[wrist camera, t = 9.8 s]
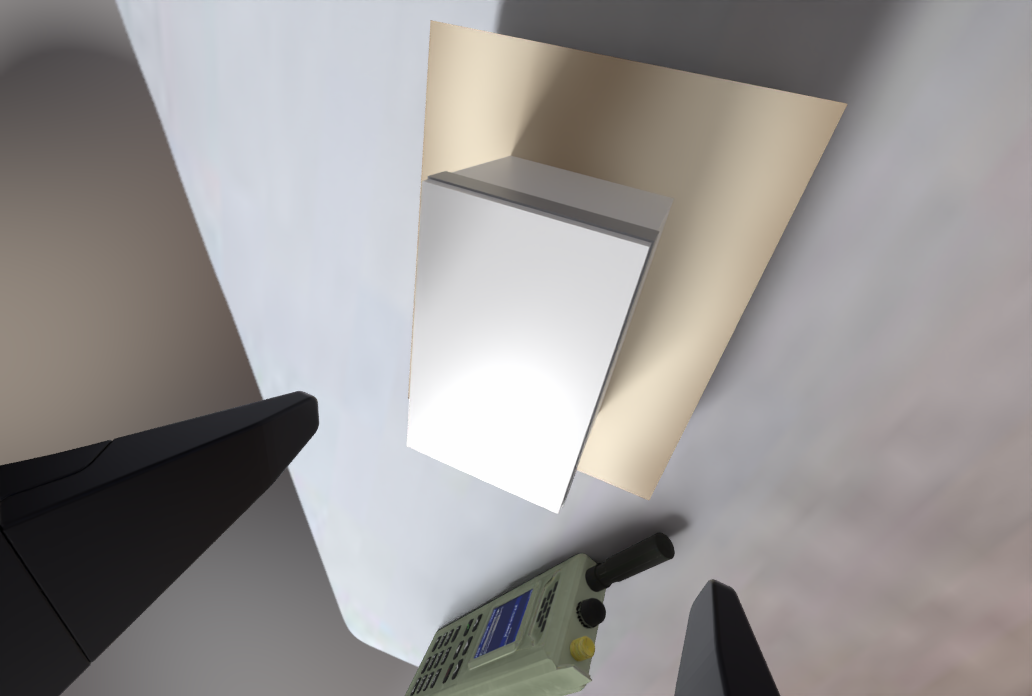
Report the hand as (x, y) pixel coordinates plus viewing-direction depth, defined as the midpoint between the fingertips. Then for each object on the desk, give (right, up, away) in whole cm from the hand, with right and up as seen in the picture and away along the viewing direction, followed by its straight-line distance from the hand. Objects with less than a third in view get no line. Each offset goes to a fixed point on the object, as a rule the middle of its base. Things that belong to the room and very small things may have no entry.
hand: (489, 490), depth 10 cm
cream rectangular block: (+3, +6, +9) cm, 12 cm away
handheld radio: (+2, -14, +22) cm, 26 cm away
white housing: (+2, +5, +6) cm, 8 cm away
